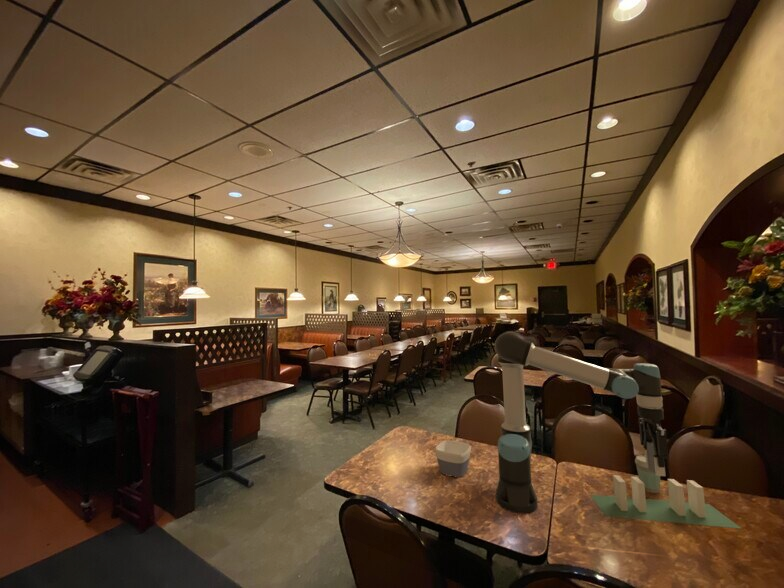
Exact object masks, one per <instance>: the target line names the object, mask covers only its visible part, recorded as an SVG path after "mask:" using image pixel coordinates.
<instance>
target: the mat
mask: <svg viewBox="0 0 784 588" xmlns="http://www.w3.org/2000/svg"><path fill="white" fill-rule="evenodd" d="M589 496H590V497H591V499H592V500H593V501H594V503H595V504H596V505H597V506H598V508H599V510H600V511H601V512H602V513H603V515H604V516H605V517H608V518H609V517H611V518H621V519H622V518H623V519H631V520H643V521H652V522H653V521H654V522H664V523H666V522H667V523H675V524H684V525H685V524H687V525H697V526H709V527H720V528H729V529H730V528H731V529H742V527H741V526H739V525H738V524H736V523H735V522H734V521H732V520H731V519H730V518H728V517H727V516H725V515H724V514H723V513H721V512H720V511H719V510H718V509H716V507H713V505H712V504H710V503H705V512H706V518H702V517H698V516H697V515H696V514H695V513H694V512H692V511H691V510H690V509H689V502H687V501H685V512H686V516H679V515H678V514H677V513H676V512H675V511H674V510H673V509H671V508H670V501H669V500H667V499H666V500H663V499H651V498H646V510H647V513H645V512H640V511H639V510H638V509H637V508H636V507H635V506H634V505H633V499H632V497H627V507H628V511H622V510H621V509H620V508H619V507H618V506H617V504H616V503H615V497H614V496H613V495H600V494H589Z"/></svg>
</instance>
